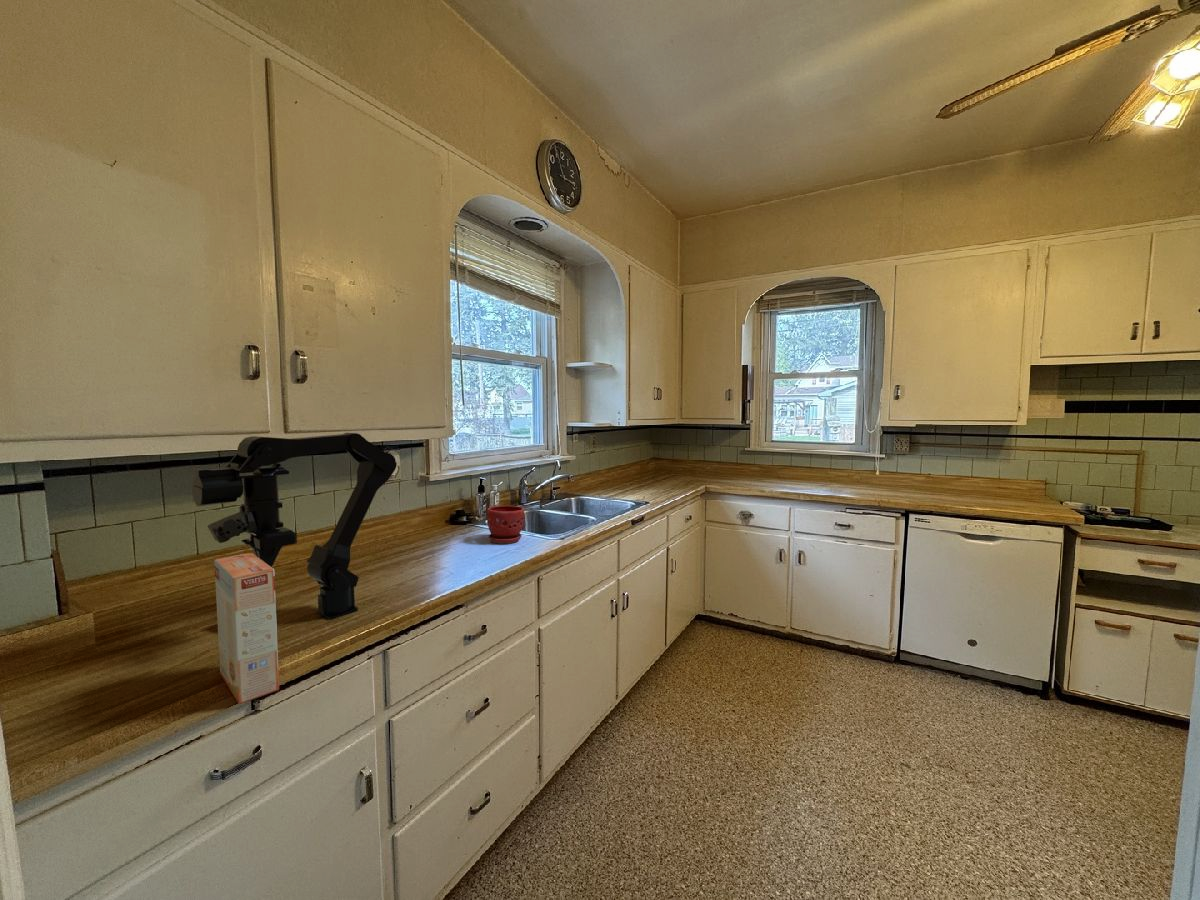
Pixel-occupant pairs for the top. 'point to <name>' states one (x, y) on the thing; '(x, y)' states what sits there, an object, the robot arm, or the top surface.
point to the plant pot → (505, 523)
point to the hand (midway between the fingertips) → (265, 573)
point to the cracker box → (247, 626)
